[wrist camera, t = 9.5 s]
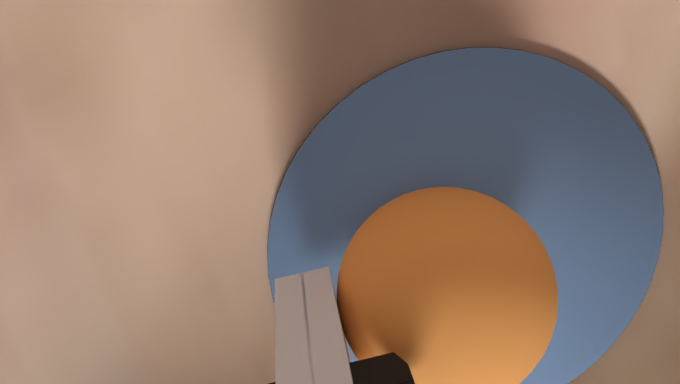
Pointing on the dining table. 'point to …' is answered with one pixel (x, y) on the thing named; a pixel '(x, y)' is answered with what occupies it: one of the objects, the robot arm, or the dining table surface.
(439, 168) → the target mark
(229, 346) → the dining table surface
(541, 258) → the ball
